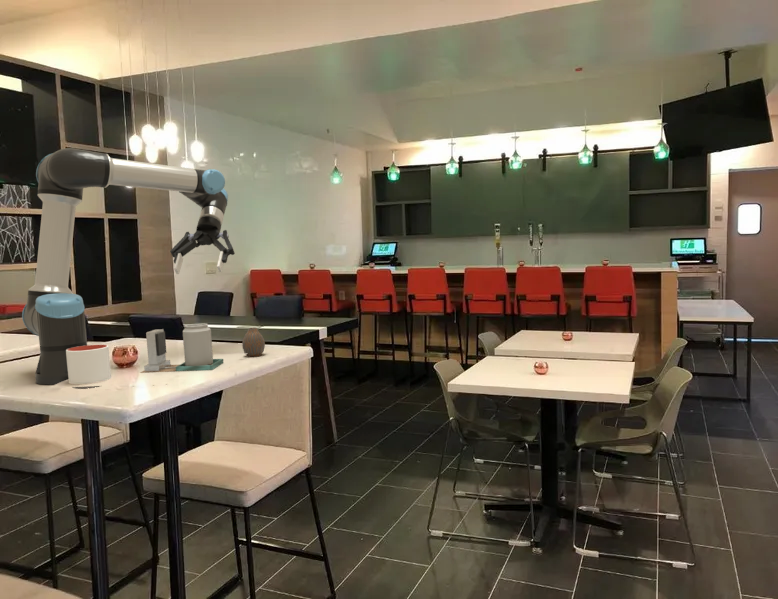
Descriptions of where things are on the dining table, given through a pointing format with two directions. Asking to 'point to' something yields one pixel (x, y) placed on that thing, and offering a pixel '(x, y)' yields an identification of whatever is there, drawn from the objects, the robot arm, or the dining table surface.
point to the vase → (253, 343)
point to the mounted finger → (156, 351)
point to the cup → (88, 365)
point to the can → (197, 345)
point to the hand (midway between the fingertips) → (197, 270)
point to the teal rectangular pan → (190, 367)
